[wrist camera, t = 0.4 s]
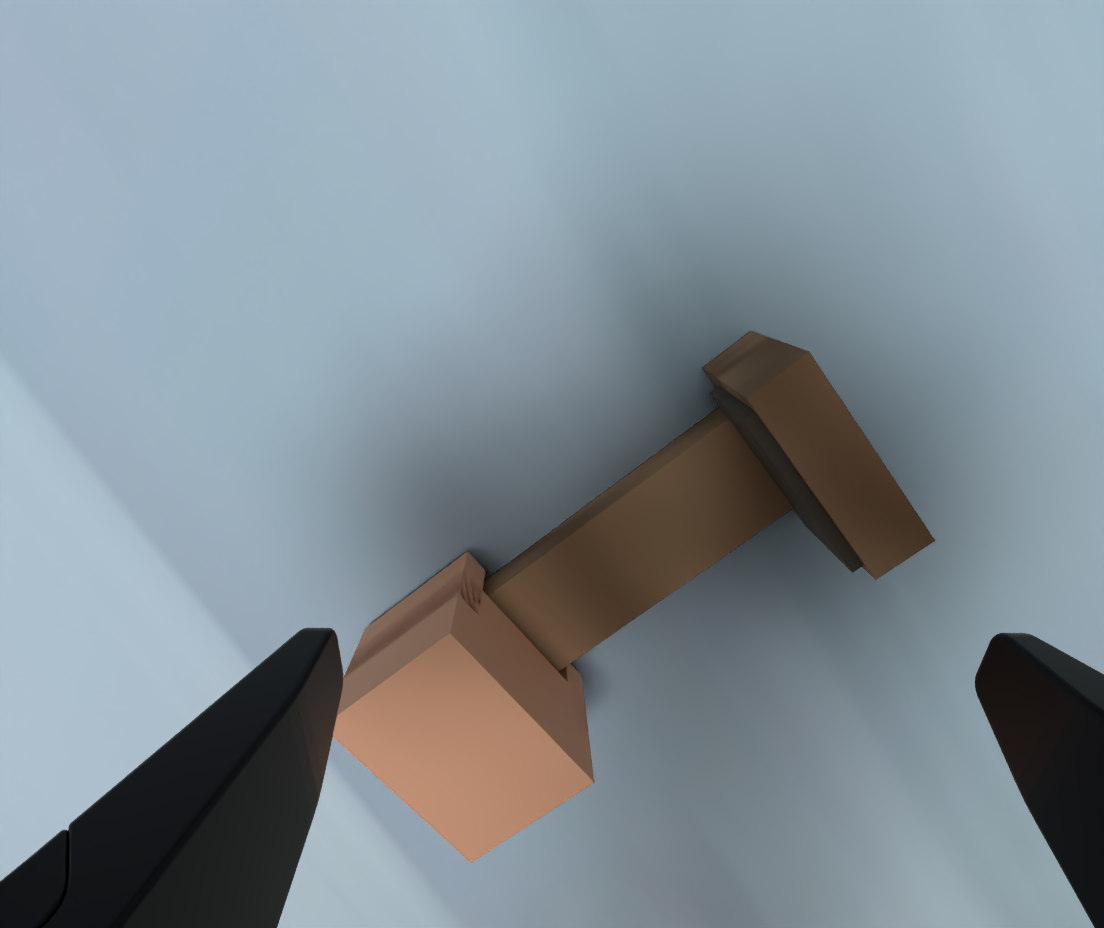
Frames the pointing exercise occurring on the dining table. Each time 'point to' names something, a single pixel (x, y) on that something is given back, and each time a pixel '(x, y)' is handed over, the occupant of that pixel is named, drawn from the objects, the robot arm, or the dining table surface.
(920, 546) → the rail
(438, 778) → the block
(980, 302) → the dining table surface
